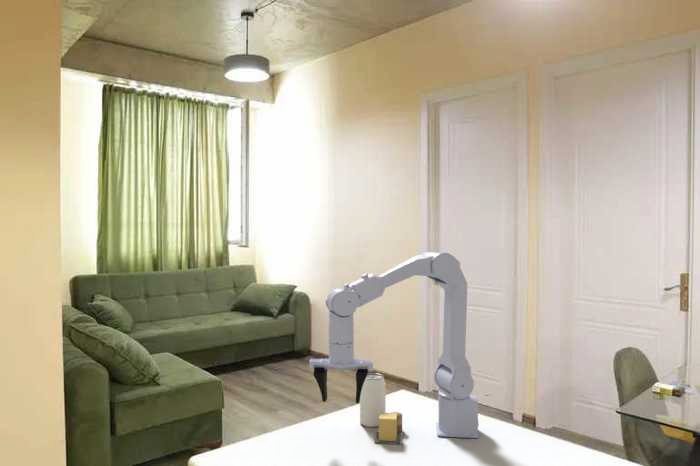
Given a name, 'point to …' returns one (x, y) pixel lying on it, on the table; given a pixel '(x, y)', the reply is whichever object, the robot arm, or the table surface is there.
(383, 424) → the ochre block
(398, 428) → the cork cylinder
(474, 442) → the table surface
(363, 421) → the can
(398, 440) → the coaster
